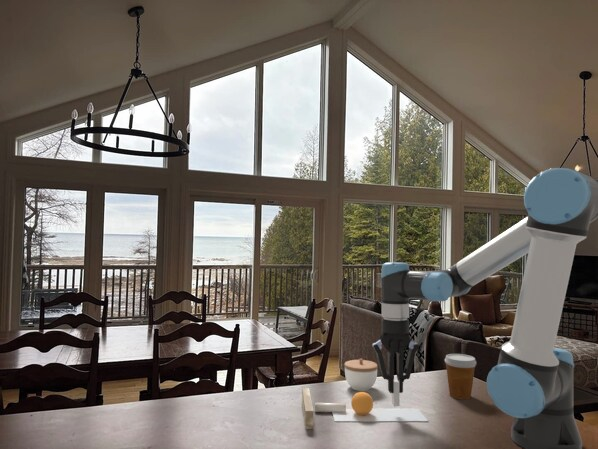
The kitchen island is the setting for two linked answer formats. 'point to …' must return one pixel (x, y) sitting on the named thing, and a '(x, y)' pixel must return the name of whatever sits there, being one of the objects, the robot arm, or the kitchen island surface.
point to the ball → (362, 403)
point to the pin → (330, 407)
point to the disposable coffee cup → (460, 375)
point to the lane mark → (381, 415)
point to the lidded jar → (361, 374)
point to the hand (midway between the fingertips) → (395, 404)
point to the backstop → (307, 408)
